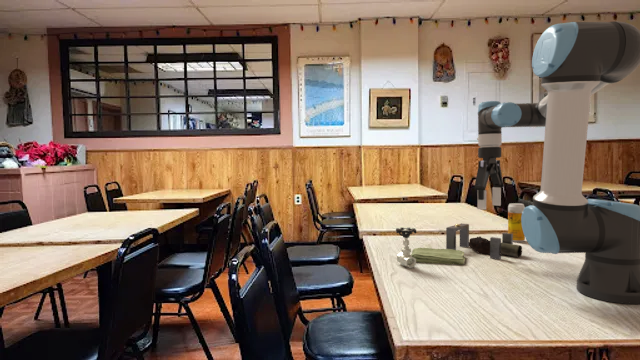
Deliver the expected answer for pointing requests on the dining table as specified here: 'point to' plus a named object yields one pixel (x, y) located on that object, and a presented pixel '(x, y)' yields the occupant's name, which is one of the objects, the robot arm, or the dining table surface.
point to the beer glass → (515, 221)
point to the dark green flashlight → (484, 247)
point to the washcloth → (438, 256)
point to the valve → (406, 248)
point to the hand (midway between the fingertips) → (489, 207)
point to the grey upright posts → (464, 239)
